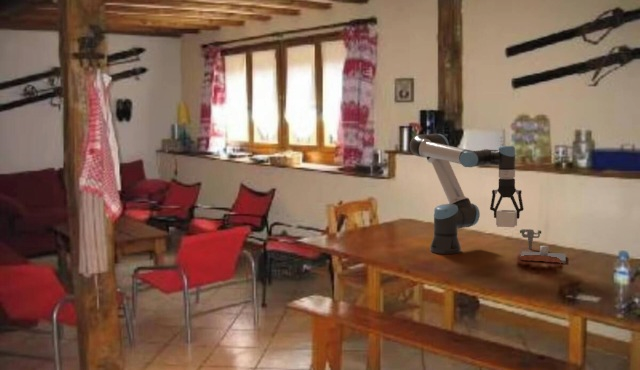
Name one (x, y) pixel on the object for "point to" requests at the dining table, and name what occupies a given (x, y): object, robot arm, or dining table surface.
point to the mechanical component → (530, 235)
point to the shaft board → (562, 256)
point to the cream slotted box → (506, 218)
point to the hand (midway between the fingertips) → (506, 224)
